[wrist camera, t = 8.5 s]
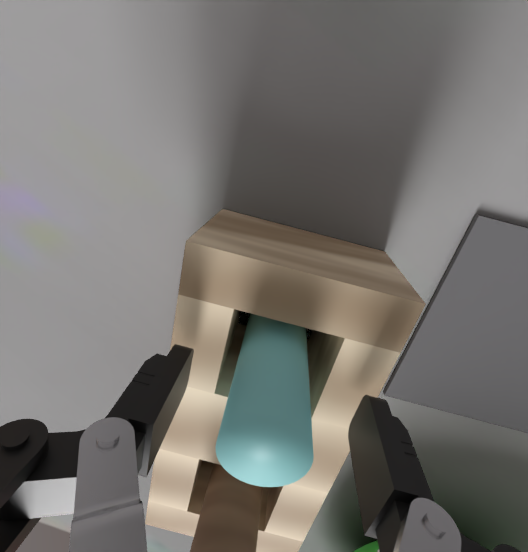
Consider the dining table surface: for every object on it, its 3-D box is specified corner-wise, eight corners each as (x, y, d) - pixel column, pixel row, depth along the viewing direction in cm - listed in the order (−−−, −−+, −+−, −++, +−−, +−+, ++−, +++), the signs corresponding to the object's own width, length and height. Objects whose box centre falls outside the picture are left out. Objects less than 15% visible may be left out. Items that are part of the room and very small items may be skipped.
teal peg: (260, 273, 18) (225, 406, 9) (310, 286, 18) (326, 432, 9) (249, 316, 19) (208, 473, 10) (296, 328, 19) (297, 496, 10)
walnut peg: (233, 388, 22) (185, 567, 13) (275, 400, 22) (258, 586, 13) (225, 419, 23) (176, 603, 14) (265, 429, 23) (242, 620, 14)
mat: (475, 214, 16) (478, 215, 16) (708, 275, 16) (715, 277, 16) (383, 391, 21) (384, 395, 20) (561, 438, 21) (565, 442, 20)
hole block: (222, 208, 17) (186, 241, 11) (384, 251, 17) (425, 304, 12) (179, 437, 24) (145, 524, 19) (293, 467, 24) (292, 562, 19)
